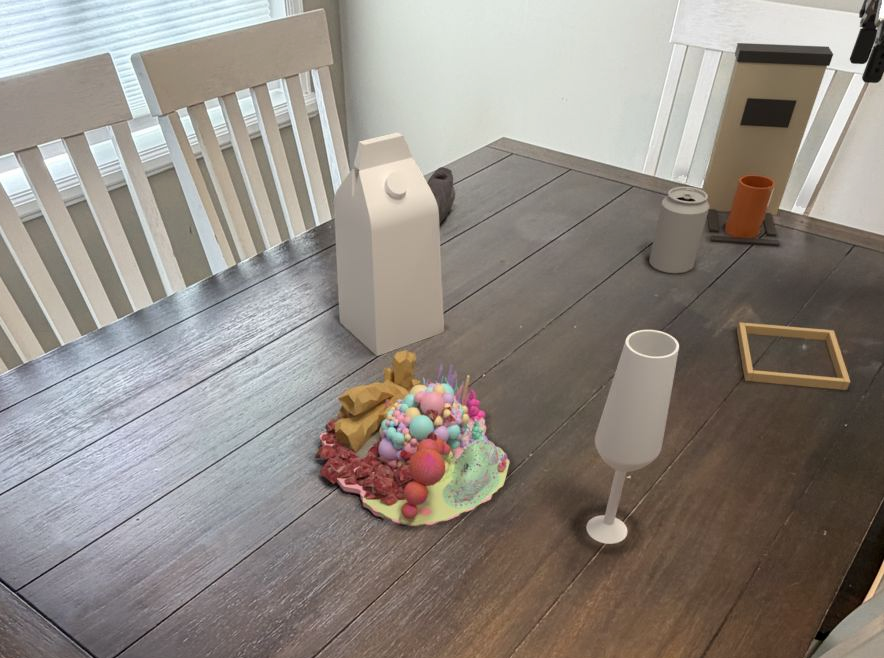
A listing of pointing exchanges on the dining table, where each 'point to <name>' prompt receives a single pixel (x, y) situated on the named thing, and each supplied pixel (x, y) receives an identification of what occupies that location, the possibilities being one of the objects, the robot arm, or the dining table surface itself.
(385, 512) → the candy landscape model
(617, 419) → the champagne flute
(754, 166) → the standing sign board
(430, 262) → the milk
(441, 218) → the perforated stone tool
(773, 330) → the tan wooden square frame
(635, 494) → the dining table surface
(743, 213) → the cup
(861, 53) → the robot arm
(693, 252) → the can
